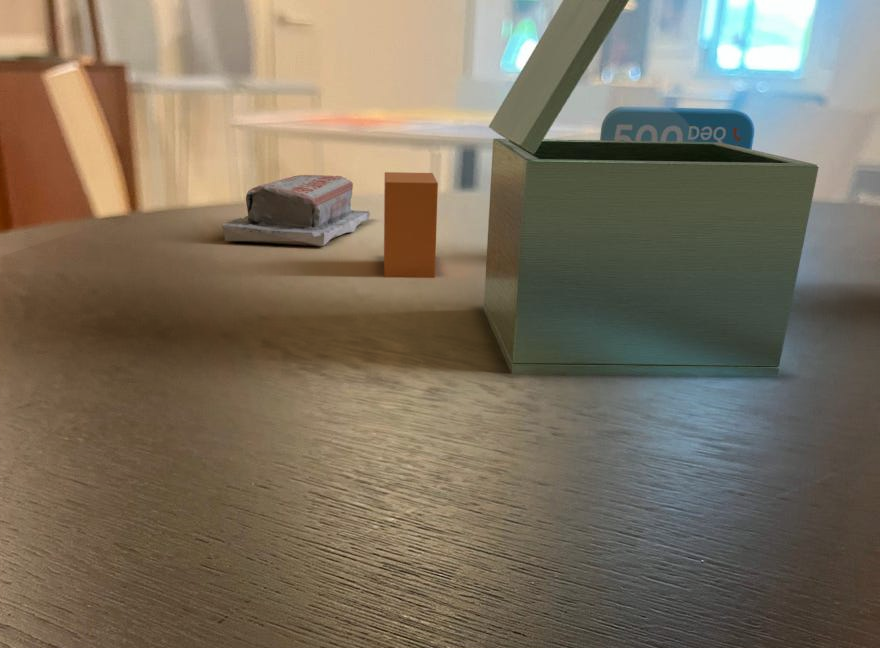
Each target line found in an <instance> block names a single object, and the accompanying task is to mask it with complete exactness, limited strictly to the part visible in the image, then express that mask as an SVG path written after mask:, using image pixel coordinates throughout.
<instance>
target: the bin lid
mask: <svg viewBox="0 0 880 648" xmlns="http://www.w3.org/2000/svg"><path fill="white" fill-rule="evenodd" d="M629 1H630V0H562V1H561V3H560V5H559V6H558V8H557V10H556V12H555V14H554V15H553V17H552V18H551V20H550V21H549V23H548V25H547V27H546V28H545V30H544V32H543V34H542V35H541V37H540V39H539V40H538V42H537V43H536V46H535V47H534V49H533V51H532V52H531V54H530V56H529V57H528V59H527V60H526V62H525V65H523V67H522V69H521V71H520V72H519V74H518V76H517V78H516V79H515V81H514V83H513V84H512V86H511V88H510V89H509V91H508V93H507V95H505V96H506V97H505V98H504V99H503V101H502V103H501V105H500V106H499V108H498V110H497V111H496V113H495V115H494V116H493V118H492V120H491V122H490V123H489V125H488V128H489V129H490V130H492V131H493V132H495V133H496V134H498V135H500V137H503V139H508V140H510V141H511V142H513V143H515V144H516V145H518V146H520V147H522V148H523V149H525V150H527V151H529V152H530V153H532V154H534V153H535V152H536V150H537V149H538V147H539V145H540V144H541V142H542V141H543V139H545V137H546V135H547V134H548V132H549V131H550V130H551V128H552V126H553V124H554V123H555V121H556V120H557V118H558V116H559V115H560V113H561V112H562V111H563V108H564V107H565V105H566V103H567V102H568V100H569V99H570V97H571V95H572V93H573V92H574V91H575V89H576V87H577V85H578V84H579V82H580V81H581V80H582V77H583V76H584V74H585V73H586V71H587V69H588V67H589V66H590V65H591V63H592V61H593V60H594V58H595V57H596V55H597V53H598V52H599V50H600V49H601V47H602V45H603V44H604V42H605V40H606V39H607V37H608V35H609V34H610V32H611V31H612V29H613V27H614V26H615V24H616V23H617V21H618V19H619V17H620V16H621V15H622V13H623V11H624V10H625V8H626V6H627V5H628V3H629Z"/></svg>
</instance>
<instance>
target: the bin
mask: <svg viewBox="0 0 880 648" xmlns="http://www.w3.org/2000/svg"><path fill="white" fill-rule="evenodd" d="M819 167H820V166H819V165H818V164H815V163H811V162H807V161H802V160H799V159H795V158H794V159H793V158H790V157H785V156H781V155H778V154H773V153H768V152H765V151H760V150H755V149H752V150H751V149H747V148H742V147H738V146H734V145H729V144H725V143H721V142H664V141H606V140H600V139H599V140H598V139H545V138H544V139H543V141H542V142H541V144H540V145H539V147H538V149H537V150H536V152H535V153H534V154H532V153H530V152H529V151H527V150H525V149H523V148H522V147H520V146H518V145H516V144H515V143H513V142H511V141H510V140H508V139H506V138H493V139H492V152H491V171H490V187H489V188H490V190H489V207H488V223H487V225H488V226H487V228H488V229H487V240H486V241H487V245H486V258H485V259H486V262H485V278H484V279H485V280H484V298H483V301H484V302H483V313H484V314H485V316H486V319H487V321H488V323H489V326H490V328H491V330H492V332H493V334H494V337H495V340H496V341H497V344H498V346H499V348H500V350H501V353H502V355H503V358H504V360H505V363H506V364H507V367H508V370H509V372H510V374H511V375H574V376H576V375H578V376H579V375H580V376H581V375H582V376H583V375H584V376H586V375H587V376H658V377H660V376H662V377H663V376H664V377H665V376H667V377H668V376H669V377H670V376H671V377H682V376H683V377H754V378H757V377H758V378H760V377H761V378H777V377H778V375H779V369H780V367H779V366H780V363H781V358H782V354H783V350H784V349H783V348H784V343H785V338H786V333H787V328H788V323H789V318H790V314H791V309H792V303H793V299H794V293H795V288H796V285H797V284H796V283H797V279H798V273H799V268H800V264H801V258H802V254H803V248H804V242H805V239H806V234H807V233H806V232H807V228H808V223H809V218H810V212H811V208H812V203H813V199H814V198H813V197H814V193H815V189H816V188H815V187H816V183H817V178H818V173H819Z"/></svg>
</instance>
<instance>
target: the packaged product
mask: <svg viewBox="0 0 880 648" xmlns="http://www.w3.org/2000/svg"><path fill="white" fill-rule="evenodd" d="M353 186H354V183H353V182H352V181H351V180H350V179H348V178H346V177H343V176H342V175H322V174H320V175H319V174H299V175H293V176H291V177H286V178H282V179H279V180H275V181H272V182H268V183H264V184H259V185H258V186H255V187H253V188H250V189H249V190H248V191H247V193H246V195H245V204H246V210H247V215H246V216H244V217H239V218H236V219H233V220H231V221H228V222H225V223H222V224H221V228H222V233H223V237H224V241H225V242H236V243H238V242H239V243H253V244H254V243H255V244H256V243H257V244H273V245H292V246H309V247H325V245H326V244H328V242H330V240H332V239H335V238H337V237H339V236H342V235H344V234H347V233H354V232H355V230H356V229H357V226H359V225H361V224H363V223H365V222H368V220H369V218H370V216H371V213H370V210H352V209H351V205H352V204H351V200H352V196H353V188H354V187H353Z"/></svg>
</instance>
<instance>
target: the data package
mask: <svg viewBox="0 0 880 648" xmlns="http://www.w3.org/2000/svg"><path fill="white" fill-rule="evenodd" d="M754 138H755V125H754V122H753V120H752V118H751V117H750V116H749V114H747V113H745V112H743V111H739V110H736V109H731V108H705V107H703V108H701V107H700V108H699V107H698V108H697V107H661V106H655V107H654V106H619V107H616V108H615V107H614V109H611V110H610V111H609V112H608V113H607V114H606V115H605V117H604V119H603V121H602V123H601V127H600V137H599V140H606V141H664V142H721V143H725V144H729V145H734V146H738V147H742V148H747V149H751V150H753V144H754Z"/></svg>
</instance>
